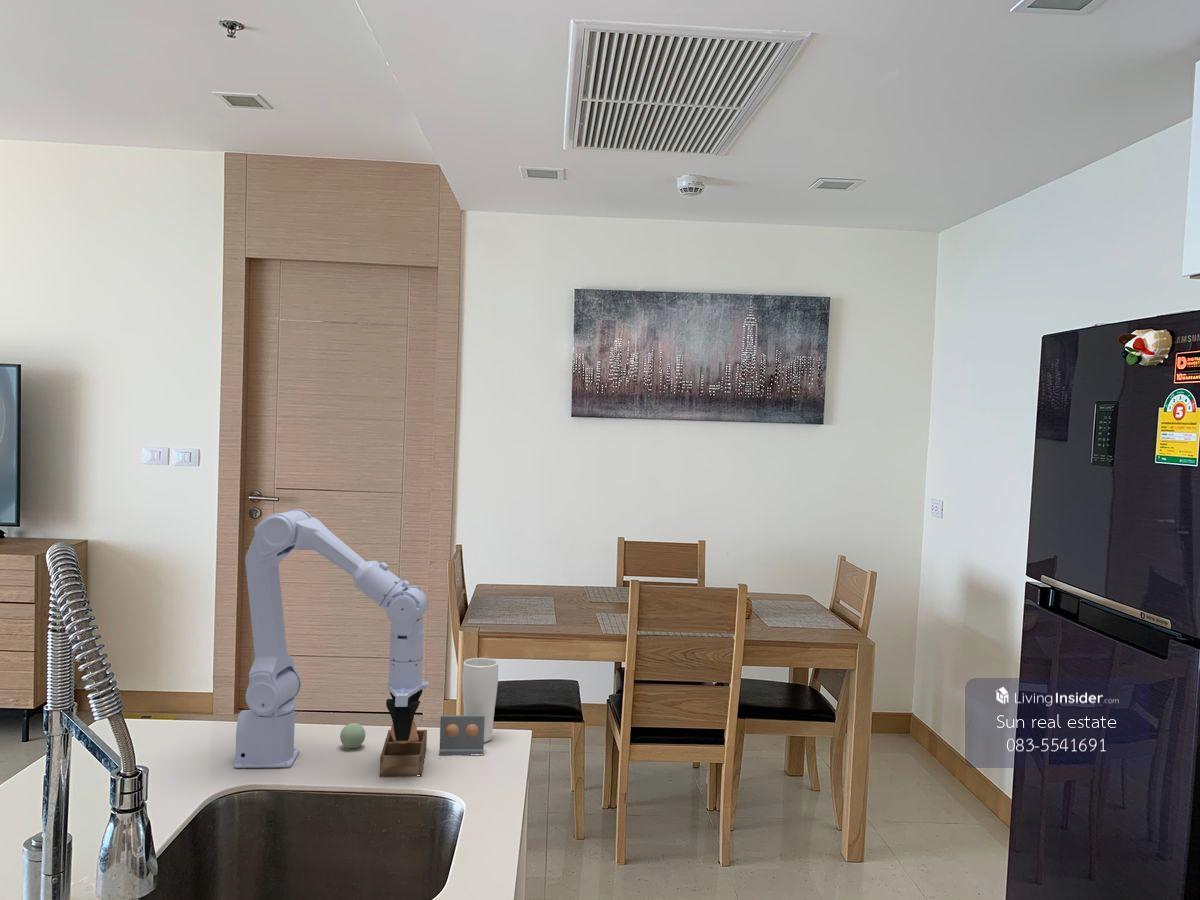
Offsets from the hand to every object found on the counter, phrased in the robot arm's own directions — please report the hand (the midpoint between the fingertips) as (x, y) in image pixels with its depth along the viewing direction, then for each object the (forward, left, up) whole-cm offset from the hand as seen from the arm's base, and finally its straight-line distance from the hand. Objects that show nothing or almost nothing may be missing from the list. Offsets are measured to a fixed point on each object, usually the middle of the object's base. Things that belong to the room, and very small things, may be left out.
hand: (403, 735), depth 159 cm
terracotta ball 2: (0, +6, -3) cm, 7 cm away
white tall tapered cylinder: (+13, +15, -6) cm, 21 cm away
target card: (+10, +8, -6) cm, 14 cm away
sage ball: (-10, +11, -4) cm, 15 cm away
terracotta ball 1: (0, 0, +1) cm, 1 cm away
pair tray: (0, +3, -6) cm, 7 cm away
